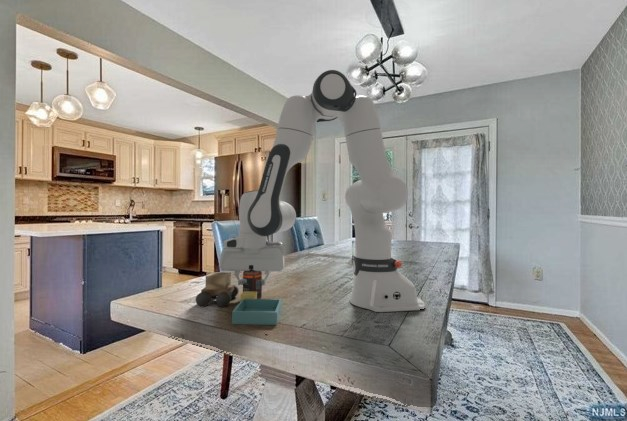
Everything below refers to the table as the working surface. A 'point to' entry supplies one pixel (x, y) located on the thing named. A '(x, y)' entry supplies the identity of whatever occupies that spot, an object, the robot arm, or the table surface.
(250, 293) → the yellow cube
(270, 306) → the tray
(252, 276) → the supplement bottle
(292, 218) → the robot arm
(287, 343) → the table surface
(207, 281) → the trolley
